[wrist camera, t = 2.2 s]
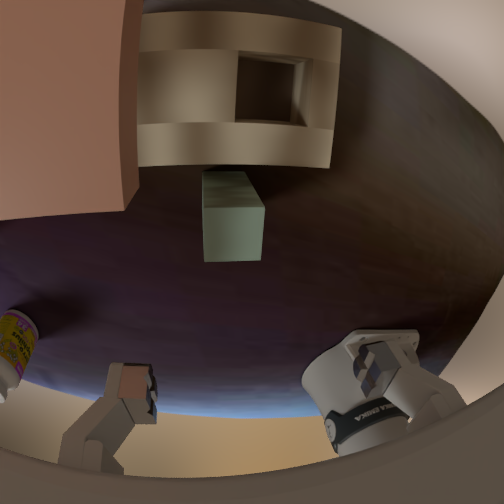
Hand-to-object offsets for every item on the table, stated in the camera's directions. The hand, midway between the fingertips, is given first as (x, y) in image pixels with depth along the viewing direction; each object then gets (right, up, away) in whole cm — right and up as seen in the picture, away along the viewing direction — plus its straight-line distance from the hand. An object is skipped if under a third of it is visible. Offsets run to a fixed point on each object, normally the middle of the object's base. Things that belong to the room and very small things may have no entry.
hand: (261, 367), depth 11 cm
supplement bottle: (-34, -6, +22) cm, 41 cm away
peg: (-3, +10, +18) cm, 21 cm away
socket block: (-5, +19, +13) cm, 23 cm away
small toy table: (-15, +20, +11) cm, 27 cm away
